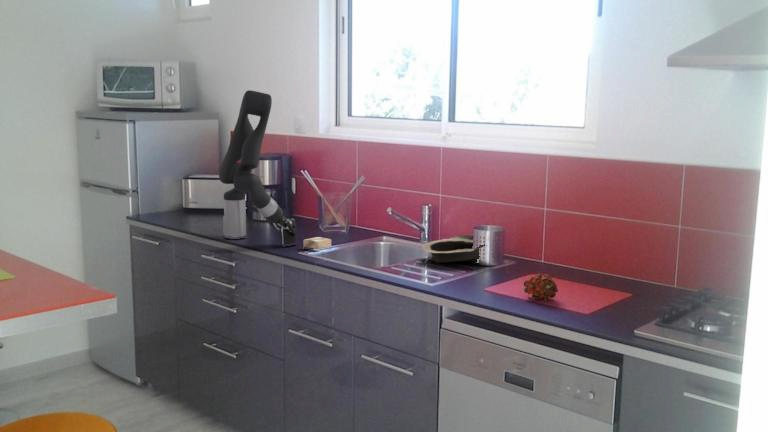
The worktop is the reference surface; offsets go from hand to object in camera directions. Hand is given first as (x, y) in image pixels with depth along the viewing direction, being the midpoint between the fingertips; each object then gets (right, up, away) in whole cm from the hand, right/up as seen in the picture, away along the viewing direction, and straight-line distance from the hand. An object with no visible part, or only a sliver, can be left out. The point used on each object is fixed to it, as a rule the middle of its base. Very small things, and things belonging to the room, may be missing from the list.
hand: (290, 234), depth 300 cm
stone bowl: (+65, -10, -28) cm, 72 cm away
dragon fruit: (+87, -18, -79) cm, 119 cm away
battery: (-1, -5, -1) cm, 5 cm away
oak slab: (+12, -6, -7) cm, 15 cm away
